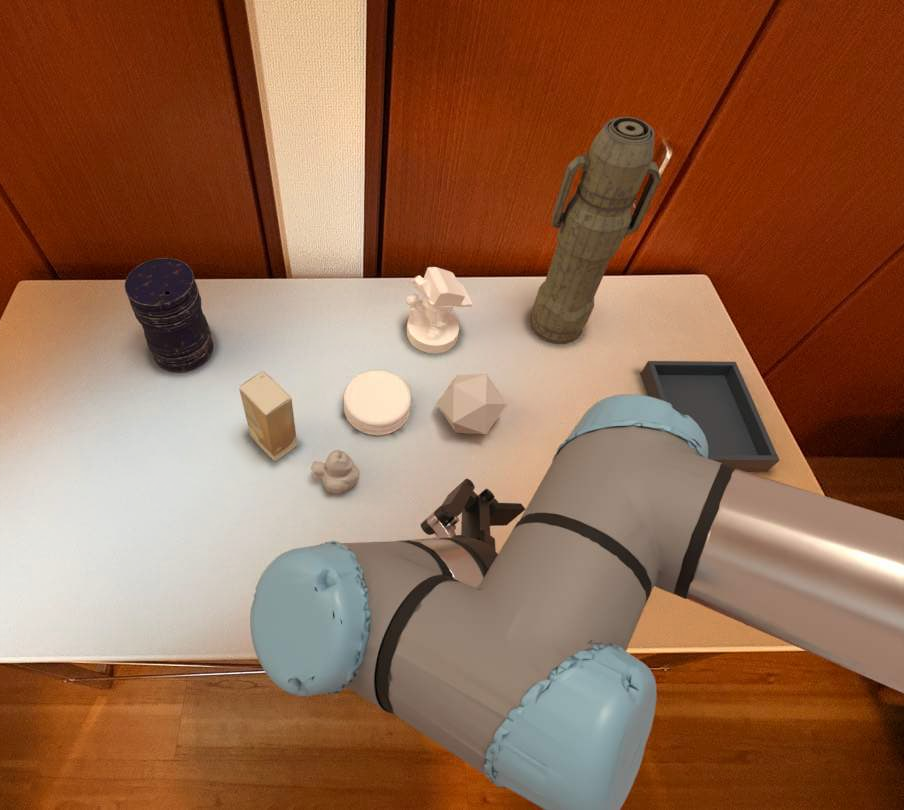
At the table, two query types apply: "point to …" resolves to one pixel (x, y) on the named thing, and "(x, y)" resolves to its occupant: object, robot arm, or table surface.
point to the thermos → (594, 224)
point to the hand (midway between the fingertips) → (555, 571)
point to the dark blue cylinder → (170, 314)
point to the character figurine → (435, 311)
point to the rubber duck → (336, 472)
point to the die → (471, 404)
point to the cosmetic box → (269, 415)
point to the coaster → (377, 402)
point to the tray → (715, 409)
